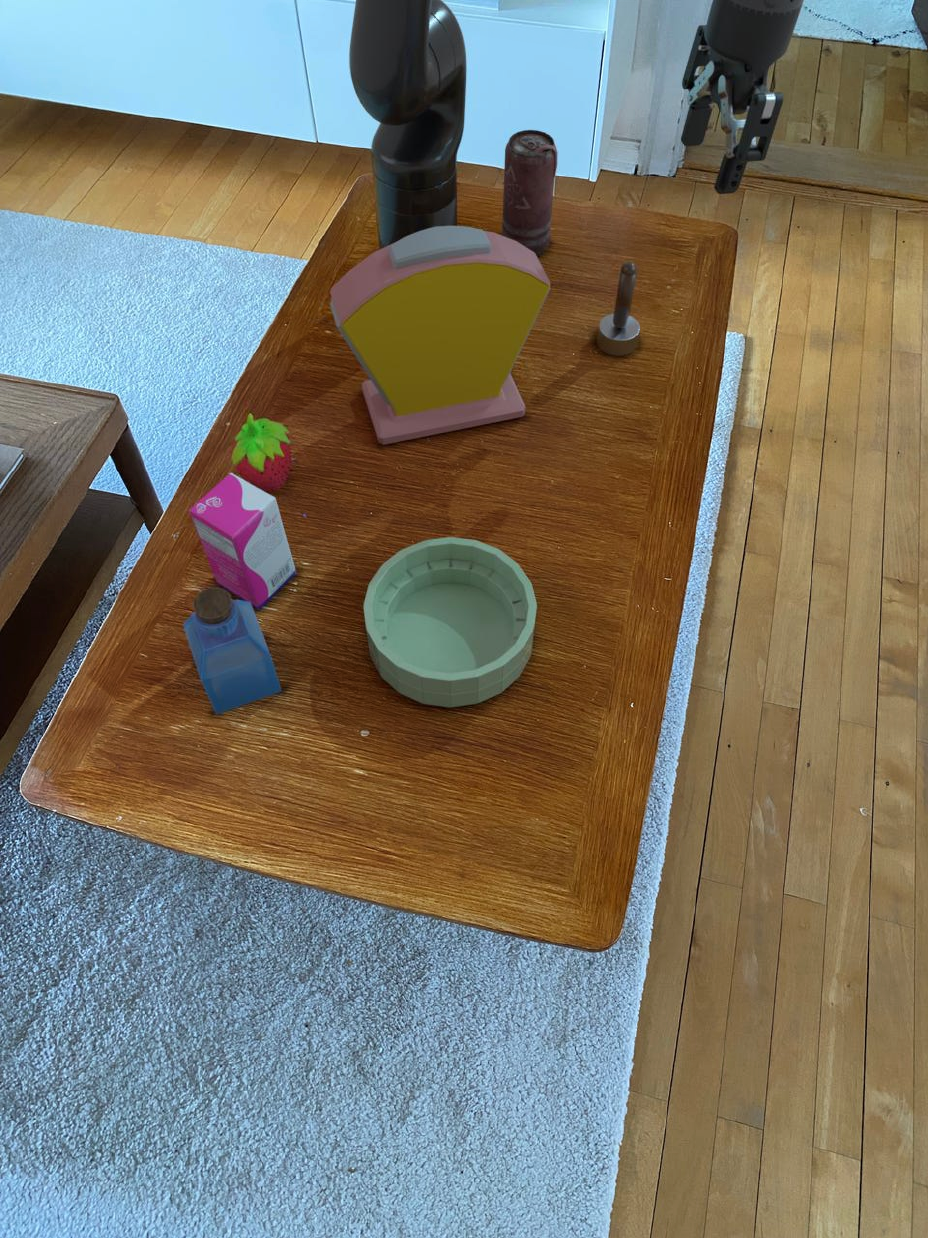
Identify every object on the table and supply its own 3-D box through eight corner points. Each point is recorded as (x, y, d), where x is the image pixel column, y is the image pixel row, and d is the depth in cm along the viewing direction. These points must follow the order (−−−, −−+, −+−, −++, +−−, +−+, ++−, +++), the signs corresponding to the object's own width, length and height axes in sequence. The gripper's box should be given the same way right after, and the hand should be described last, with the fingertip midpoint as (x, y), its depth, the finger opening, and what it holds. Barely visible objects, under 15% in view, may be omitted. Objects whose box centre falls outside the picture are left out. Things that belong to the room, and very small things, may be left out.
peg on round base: (592, 331, 117) (603, 251, 108) (631, 326, 117) (645, 247, 108) (602, 358, 114) (614, 279, 105) (641, 353, 115) (657, 274, 105)
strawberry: (229, 504, 102) (208, 436, 93) (259, 454, 106) (242, 385, 97) (280, 518, 101) (263, 450, 92) (309, 467, 105) (295, 398, 96)
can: (546, 262, 124) (555, 159, 112) (497, 256, 125) (501, 152, 113) (554, 234, 127) (563, 130, 116) (506, 228, 128) (510, 124, 116)
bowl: (360, 582, 96) (355, 548, 92) (515, 562, 98) (517, 528, 93) (378, 721, 88) (374, 691, 83) (547, 697, 89) (552, 666, 85)
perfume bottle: (198, 660, 91) (166, 586, 81) (262, 638, 93) (238, 563, 83) (216, 714, 88) (184, 644, 78) (281, 691, 89) (259, 619, 79)
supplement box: (253, 545, 99) (231, 468, 89) (298, 573, 97) (279, 497, 87) (213, 583, 96) (186, 508, 87) (258, 612, 94) (235, 539, 85)
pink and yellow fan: (523, 359, 114) (535, 190, 96) (548, 414, 109) (565, 246, 91) (339, 395, 111) (316, 227, 93) (356, 453, 106) (335, 287, 88)
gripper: (838, 25, 80) (771, 205, 93) (765, -51, 88) (713, 126, 101) (757, 29, 79) (700, 211, 92) (689, -49, 86) (646, 130, 99)
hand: (707, 166), depth 96 cm, fingers open, 8 cm apart
